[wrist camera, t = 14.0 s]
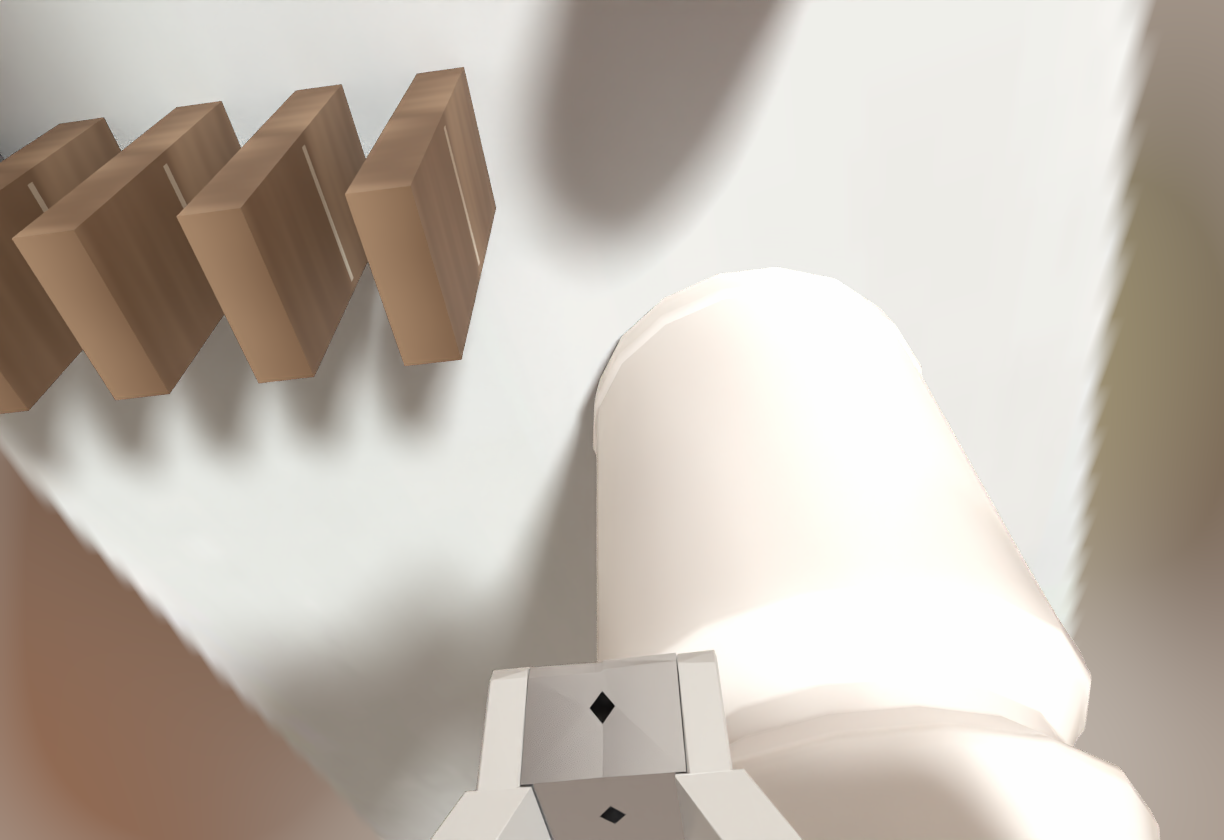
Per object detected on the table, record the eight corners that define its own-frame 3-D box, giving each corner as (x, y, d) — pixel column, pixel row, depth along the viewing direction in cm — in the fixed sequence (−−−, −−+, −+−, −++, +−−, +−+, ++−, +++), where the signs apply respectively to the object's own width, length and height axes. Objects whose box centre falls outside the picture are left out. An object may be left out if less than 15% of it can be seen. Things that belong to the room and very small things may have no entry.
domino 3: (344, 227, 30) (258, 383, 23) (295, 90, 27) (176, 216, 19) (386, 221, 30) (314, 376, 22) (341, 84, 27) (241, 208, 19)
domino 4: (453, 213, 30) (404, 366, 22) (416, 73, 27) (344, 194, 19) (496, 207, 30) (461, 359, 22) (464, 67, 27) (410, 185, 19)
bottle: (669, 546, 42) (756, 1398, 20) (533, 347, 34) (425, 1389, 12) (942, 448, 38) (1424, 1371, 16) (859, 199, 30) (1576, 1331, 8)
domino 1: (130, 254, 31) (-25, 416, 23) (58, 123, 28) (-149, 259, 20) (171, 249, 31) (29, 410, 23) (103, 117, 28) (-88, 251, 20)
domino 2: (236, 241, 31) (115, 400, 23) (176, 107, 28) (11, 238, 20) (277, 236, 31) (169, 393, 23) (222, 101, 27) (74, 230, 20)
